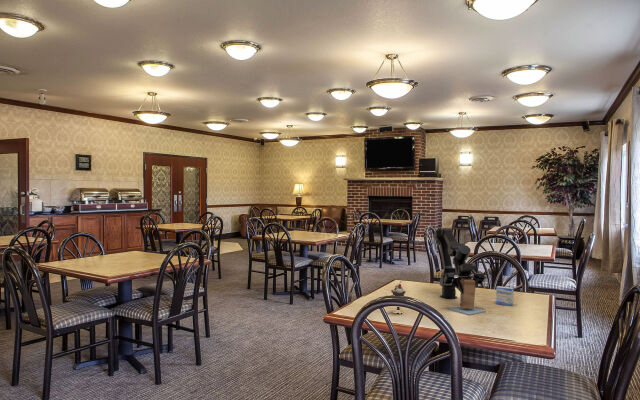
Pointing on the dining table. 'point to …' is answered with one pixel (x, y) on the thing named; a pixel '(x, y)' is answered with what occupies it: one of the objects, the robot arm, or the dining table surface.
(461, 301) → the walnut block
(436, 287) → the dining table surface
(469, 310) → the slate mat
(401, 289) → the sundae
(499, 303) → the medicine box
